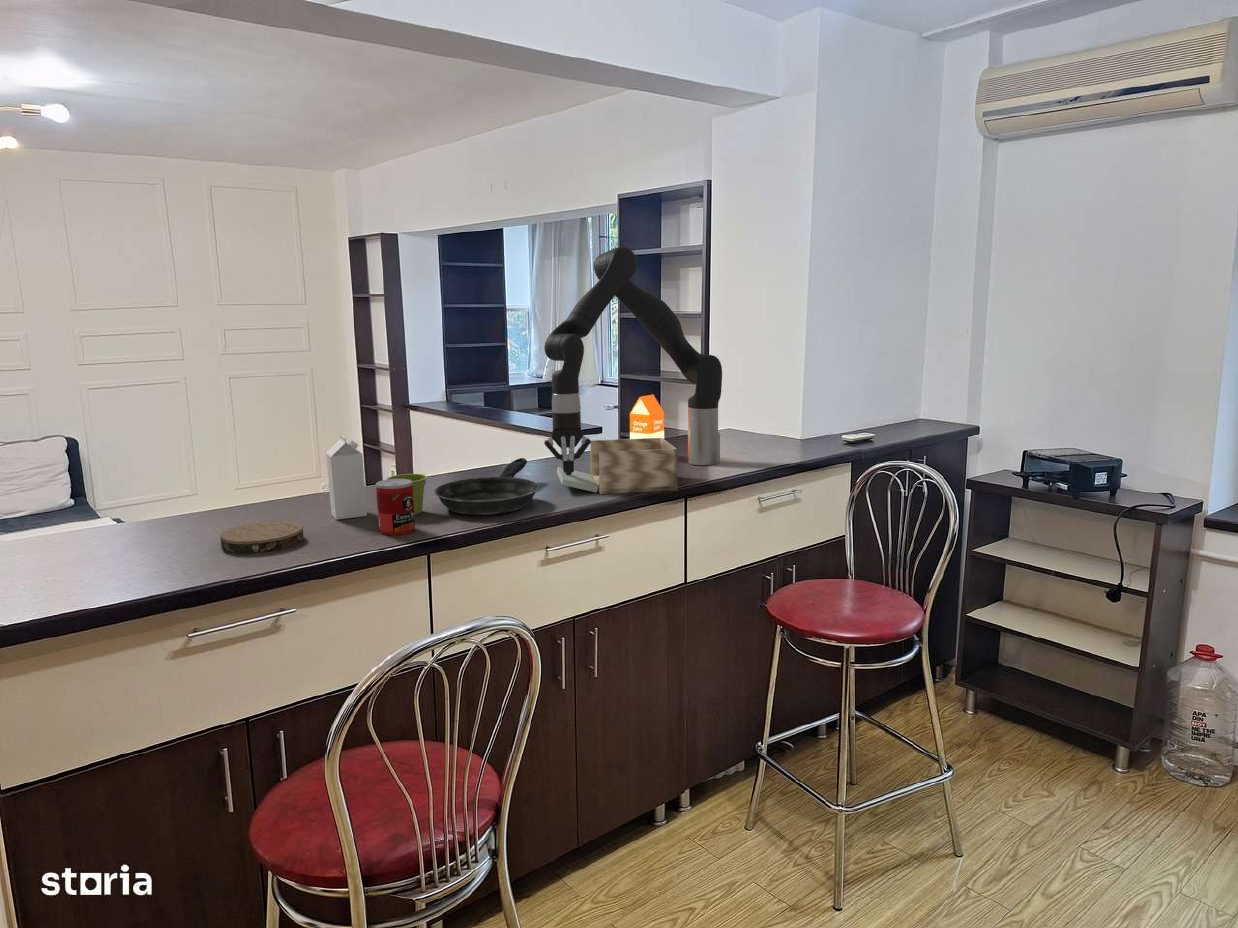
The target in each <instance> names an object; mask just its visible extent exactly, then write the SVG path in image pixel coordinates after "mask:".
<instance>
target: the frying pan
mask: <svg viewBox="0 0 1238 928" xmlns="http://www.w3.org/2000/svg"><path fill="white" fill-rule="evenodd" d="M527 463H528V460H527V459H526V458H524V457H520V458H517V459H515V460H513V461H511V462H510V463H509V464H507V465H506V466H505V467H504V469H503V471H502V472H501V474H500V475H499V476H488V477H487V476H486V477H474V478H473V477H472V478H466V479H460V480H454V481H449V482H446V483H444V484H441V485H439V486H438V487H436V488H435V489H434V494H435V495H436V496H437V497H438V499H439V500H440V502H441V503H442V505H443V506H444V507H446V508H447V509H449V510H450V511H452V512H454V513H458V514H461V515H468V516H492V515H493V516H495V515H501V514H509V513H511V512H514V511H518V510H520V509H522V508H524V507H525V506H527V505H528V504H529V503H530V502H531V501H532V499H533V498H534V496H535V493H536V492H537V491H538V489H539V483H537V482H535V481H534V480H530V479H526V478H520V477H515V476H516V474H518V473H520V472H521V471H522V470H523V469H524V468H525V467H526V465H527Z"/></svg>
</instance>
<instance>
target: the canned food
mask: <svg viewBox="0 0 1238 928" xmlns="http://www.w3.org/2000/svg"><path fill="white" fill-rule="evenodd" d="M386 479H387V478H386ZM386 479H383V480H379V481H377V482H376V483H375V491H376V492H375V493H376V505H377V516H378V530H379V532H380V533H381V534H382V535H385V536H404V535H408V534H411V533H413V532H414V531H415V530H416V519H415V518H416V515H415V514H414V498H413V484H412V481H411V480H408V479H387V480H386Z"/></svg>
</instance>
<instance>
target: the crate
mask: <svg viewBox="0 0 1238 928" xmlns="http://www.w3.org/2000/svg"><path fill="white" fill-rule="evenodd" d="M590 440H591V439H590ZM589 445H590V448H589V449H590V474H591V476H592V478H593V479H594V481H595V483H596V484H597V486H598V490H597V492H598V493H599V495H610V494H609V493H612V494H628V493H629V494H630V493H631V494H632V493H651V492H670V491H672V492H673V491H678V448H676V447H675V446H674V445H672V444H671V443H670V442H668V440H666V439H665V438H664V439H663V438H641V439H630V438H623V439H622V438H620V439H618V438H617V439H596V440H595V439H594V440H591V443H590V444H589Z"/></svg>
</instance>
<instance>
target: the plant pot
mask: <svg viewBox="0 0 1238 928" xmlns="http://www.w3.org/2000/svg"><path fill="white" fill-rule="evenodd" d="M387 479H408V480H411V481H412V484H413V498H414V514H415V516H416V515H420V514H421V513H422V512H423V505H424V494H425V493H424V492H425V491H424V490H425V485H426V481H427V479H428V476H427V475H426V474H421V473H405V474H404V473H403V474H396V475H392V476H388V477H387V478H386V479H385V480H387Z"/></svg>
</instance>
